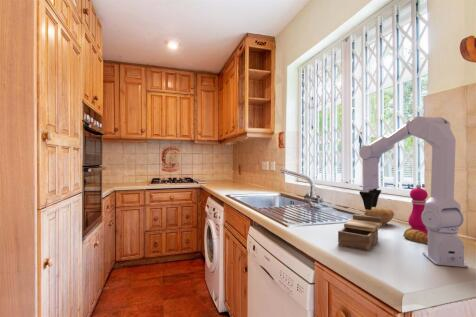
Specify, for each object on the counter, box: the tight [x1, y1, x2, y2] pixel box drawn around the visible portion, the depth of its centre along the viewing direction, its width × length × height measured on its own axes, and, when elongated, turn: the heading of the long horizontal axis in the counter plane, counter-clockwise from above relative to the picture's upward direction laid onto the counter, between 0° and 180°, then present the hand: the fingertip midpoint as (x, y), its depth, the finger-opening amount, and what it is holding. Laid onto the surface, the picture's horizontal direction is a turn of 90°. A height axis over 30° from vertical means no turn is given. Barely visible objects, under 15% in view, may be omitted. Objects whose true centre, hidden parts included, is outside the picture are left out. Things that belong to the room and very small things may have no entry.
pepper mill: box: [408, 183, 429, 235], centre depth 107 cm, size 7×7×20 cm
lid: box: [343, 213, 383, 232], centre depth 99 cm, size 12×10×3 cm
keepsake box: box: [337, 227, 379, 253], centre depth 94 cm, size 12×10×5 cm
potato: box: [363, 206, 395, 226], centre depth 122 cm, size 10×14×8 cm
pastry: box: [403, 227, 428, 245], centre depth 98 cm, size 9×7×4 cm
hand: (370, 208), depth 107 cm, fingers open, 7 cm apart
